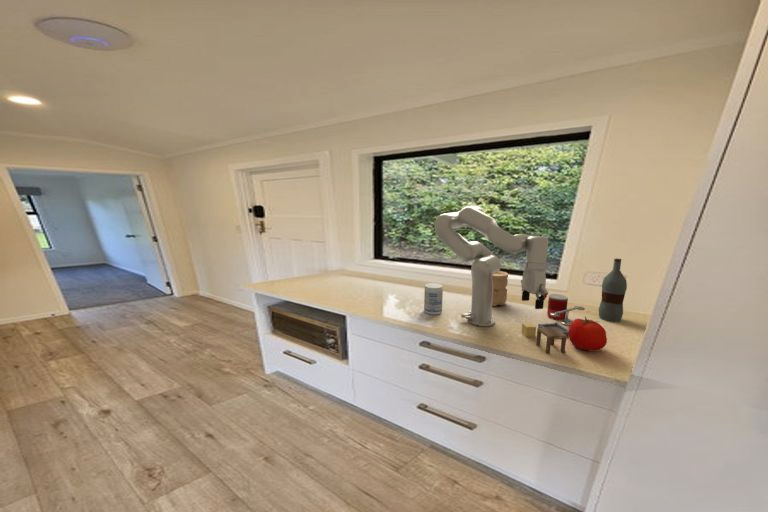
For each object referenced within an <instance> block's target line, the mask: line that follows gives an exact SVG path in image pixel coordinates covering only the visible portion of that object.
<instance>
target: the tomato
mask: <svg viewBox="0 0 768 512" xmlns="http://www.w3.org/2000/svg"><path fill="white" fill-rule="evenodd" d="M598 322H600V321H598V320H597V321H594V320H593V319H588V318H587V317H586V316H584V319H583V318H575V319H574V320H573V321H572V323H571V326H568V327H569V328H568V330H569V331H568V334H569V336H568V339H569V341H570V343H571V345H573V346H575V347H576V348H578V349H581V350H585V351H590V352H597V351H601V349H603V348H605V346H606V345H607V342H608V338H607V332H606V329H605V327H603V326H602V325H601V324H600V323H598Z"/></svg>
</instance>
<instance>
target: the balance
mask: <svg viewBox="0 0 768 512" xmlns="http://www.w3.org/2000/svg"><path fill="white" fill-rule="evenodd" d="M575 310H578V311H585V307H583V306H579V305H577V306H576V305H575V306H574V307H570V308H567V309H566V310H562V311H558V312H555V313H554V312H551V313H550V315H552V316H556V317H559V316H560V313H564V312H566V313H565V319H564V320H560V324H561V326H565V327H570V326H571V324H572V323H571V322H570V321H568V320H569V313H570V312H572V311H575Z"/></svg>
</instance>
